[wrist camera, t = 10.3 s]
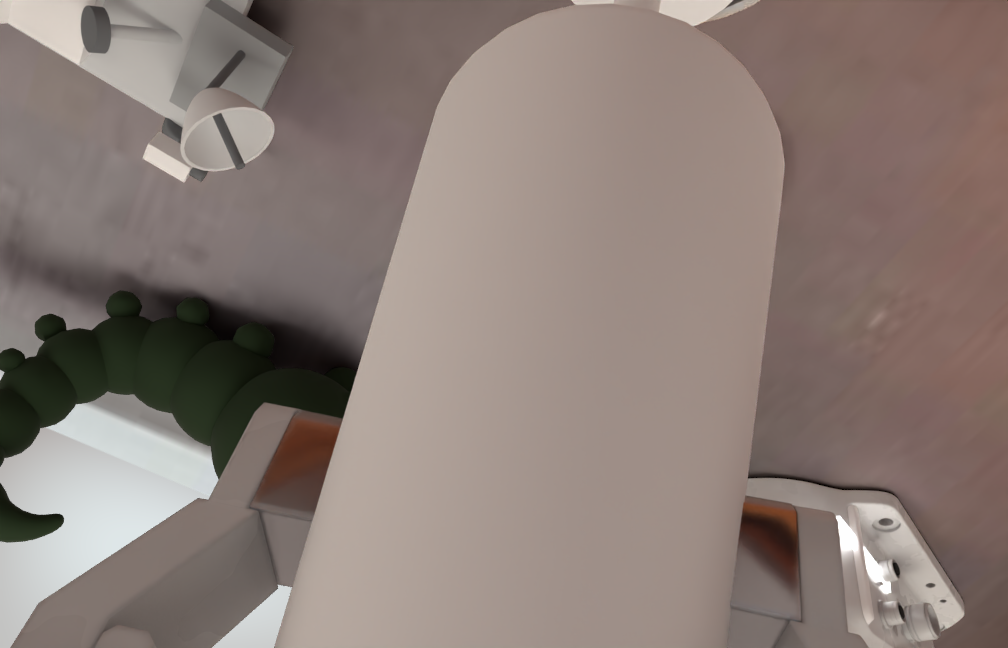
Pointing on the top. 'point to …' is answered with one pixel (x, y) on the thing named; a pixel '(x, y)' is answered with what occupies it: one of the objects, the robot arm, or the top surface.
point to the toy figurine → (151, 383)
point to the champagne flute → (560, 353)
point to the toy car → (172, 69)
